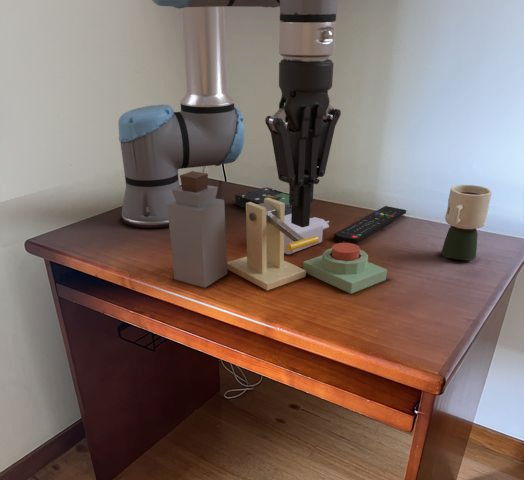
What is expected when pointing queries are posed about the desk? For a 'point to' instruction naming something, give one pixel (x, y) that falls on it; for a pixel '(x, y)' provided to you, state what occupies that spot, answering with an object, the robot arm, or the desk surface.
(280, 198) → the disk drive
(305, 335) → the desk surface
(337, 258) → the button
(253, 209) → the bracket
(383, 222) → the remote control
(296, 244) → the t-handle lever
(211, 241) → the perfume bottle
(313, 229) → the charger
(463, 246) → the character mug
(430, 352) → the desk surface
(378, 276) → the button box
